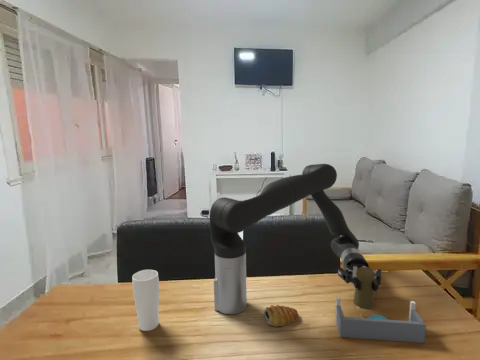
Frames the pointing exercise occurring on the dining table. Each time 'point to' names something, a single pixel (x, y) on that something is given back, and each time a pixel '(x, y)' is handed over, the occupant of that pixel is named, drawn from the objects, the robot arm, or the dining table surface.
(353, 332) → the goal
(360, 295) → the cork
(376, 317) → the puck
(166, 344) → the dining table surface
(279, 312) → the pastry
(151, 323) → the drinking glass
